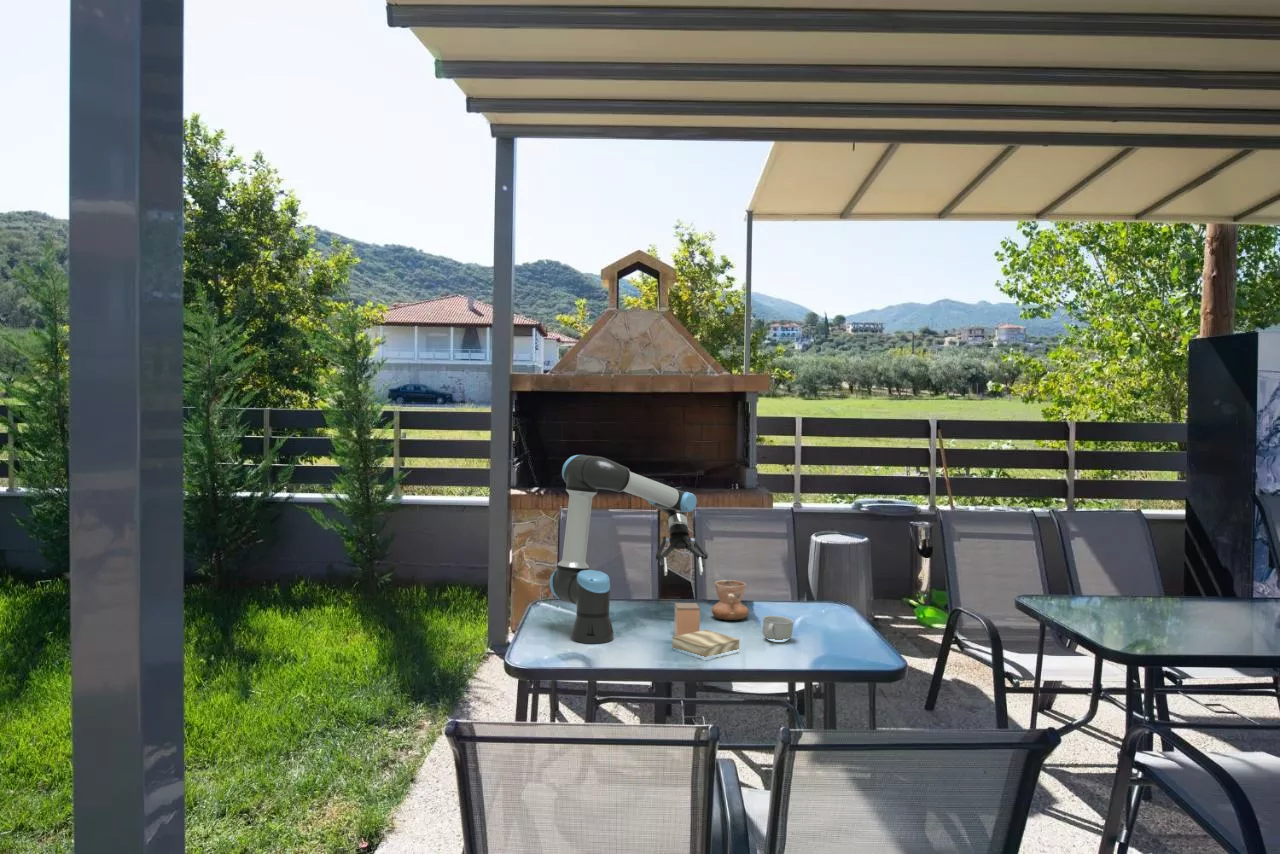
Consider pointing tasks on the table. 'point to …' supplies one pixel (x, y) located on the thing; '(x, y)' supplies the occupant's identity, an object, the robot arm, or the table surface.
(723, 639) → the birch box
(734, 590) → the ceramic jug
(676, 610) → the pink square box
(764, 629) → the teacup
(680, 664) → the table surface
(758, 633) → the table surface
